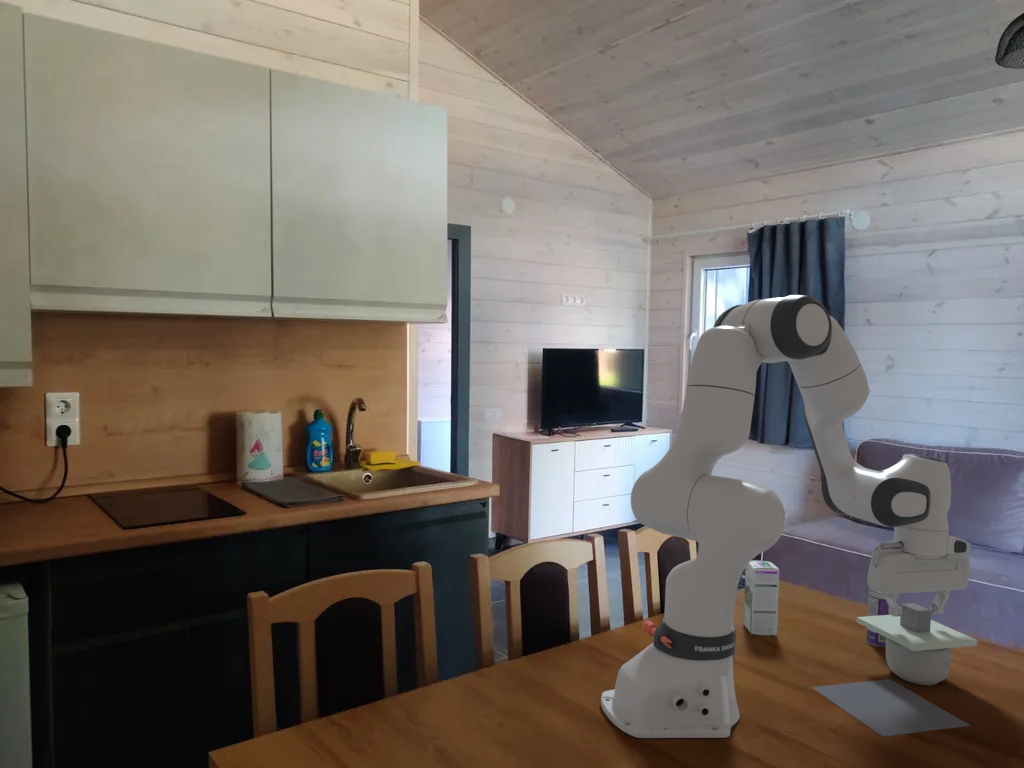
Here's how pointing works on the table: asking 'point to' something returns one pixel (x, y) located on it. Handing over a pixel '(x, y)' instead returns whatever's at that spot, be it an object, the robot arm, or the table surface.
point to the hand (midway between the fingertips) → (915, 614)
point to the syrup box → (761, 598)
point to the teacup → (918, 663)
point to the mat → (889, 707)
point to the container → (876, 608)
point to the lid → (916, 630)
